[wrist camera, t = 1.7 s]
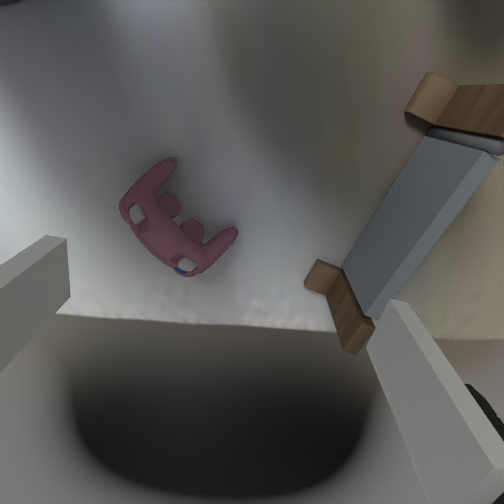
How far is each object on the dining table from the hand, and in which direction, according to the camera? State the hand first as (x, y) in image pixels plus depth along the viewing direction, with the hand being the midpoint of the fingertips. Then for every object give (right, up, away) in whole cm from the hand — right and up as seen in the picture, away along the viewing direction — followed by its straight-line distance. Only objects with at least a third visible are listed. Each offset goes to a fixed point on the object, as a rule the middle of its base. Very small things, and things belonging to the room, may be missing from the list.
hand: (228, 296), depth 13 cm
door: (+14, +6, +16) cm, 22 cm away
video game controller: (-5, +6, +18) cm, 19 cm away
